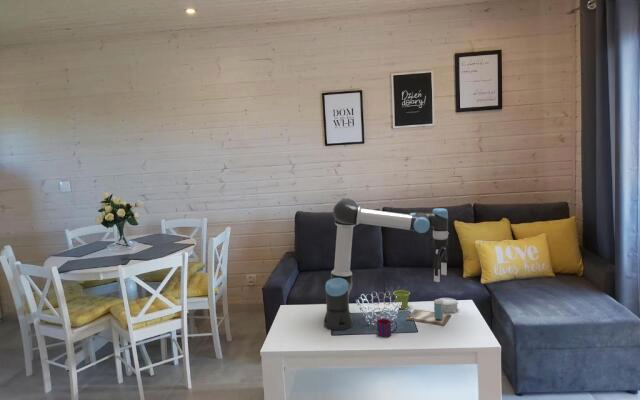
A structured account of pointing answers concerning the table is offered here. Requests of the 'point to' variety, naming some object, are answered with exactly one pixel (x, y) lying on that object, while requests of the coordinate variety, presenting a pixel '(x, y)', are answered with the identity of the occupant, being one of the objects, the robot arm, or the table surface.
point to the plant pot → (402, 298)
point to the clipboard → (427, 317)
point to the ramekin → (449, 305)
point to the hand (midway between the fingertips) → (440, 278)
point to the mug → (384, 327)
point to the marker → (438, 309)
